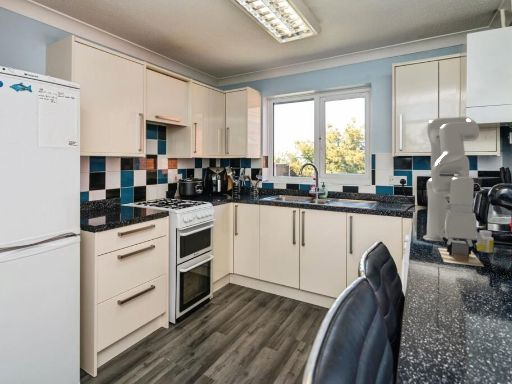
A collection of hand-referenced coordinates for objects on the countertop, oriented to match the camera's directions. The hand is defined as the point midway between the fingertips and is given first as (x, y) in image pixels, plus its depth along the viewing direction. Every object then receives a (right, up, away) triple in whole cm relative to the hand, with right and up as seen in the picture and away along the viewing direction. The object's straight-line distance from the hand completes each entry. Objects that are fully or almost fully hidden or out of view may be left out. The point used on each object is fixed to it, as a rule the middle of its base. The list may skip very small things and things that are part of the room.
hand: (458, 254), depth 118 cm
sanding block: (0, 0, 0) cm, 1 cm away
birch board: (0, -2, 0) cm, 2 cm away
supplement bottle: (+16, -2, +8) cm, 18 cm away
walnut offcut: (-3, -1, -5) cm, 6 cm away
